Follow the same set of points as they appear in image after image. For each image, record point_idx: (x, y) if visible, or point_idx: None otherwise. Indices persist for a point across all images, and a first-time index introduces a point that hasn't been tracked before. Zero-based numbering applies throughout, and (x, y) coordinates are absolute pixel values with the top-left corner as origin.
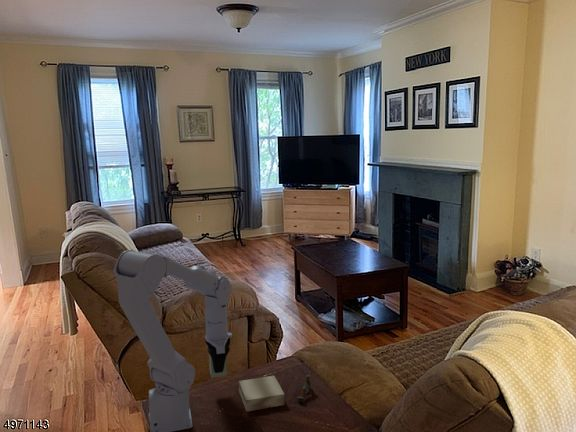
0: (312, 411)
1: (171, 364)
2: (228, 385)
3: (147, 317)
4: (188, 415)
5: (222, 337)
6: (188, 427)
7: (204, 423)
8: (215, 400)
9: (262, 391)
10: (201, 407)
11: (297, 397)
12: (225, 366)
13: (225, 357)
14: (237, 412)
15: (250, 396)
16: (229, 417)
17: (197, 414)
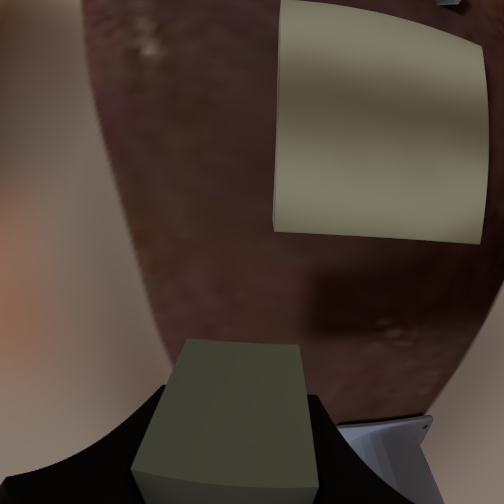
0: (495, 9)
1: None
2: (191, 259)
3: None
4: (408, 440)
5: None
6: (430, 424)
7: (430, 384)
8: (310, 341)
9: (443, 130)
10: (336, 392)
11: (455, 3)
12: (305, 397)
13: (383, 485)
14: (438, 268)
15: (462, 212)
16: (449, 304)
17: (372, 404)
